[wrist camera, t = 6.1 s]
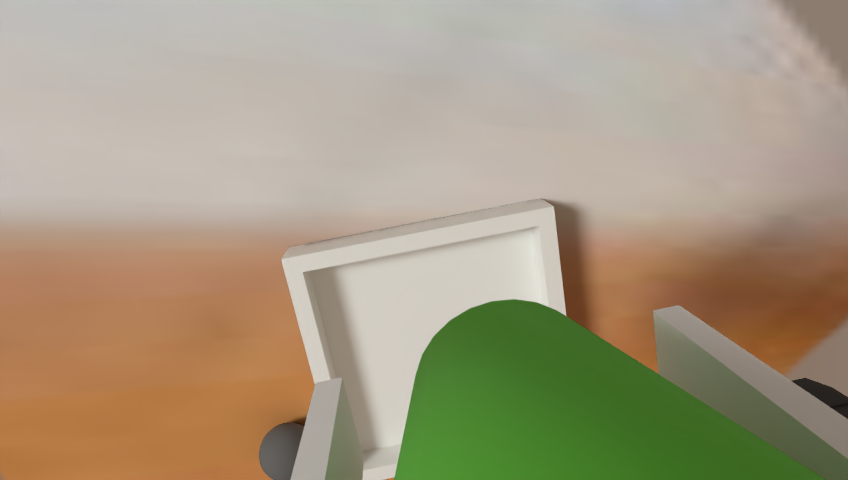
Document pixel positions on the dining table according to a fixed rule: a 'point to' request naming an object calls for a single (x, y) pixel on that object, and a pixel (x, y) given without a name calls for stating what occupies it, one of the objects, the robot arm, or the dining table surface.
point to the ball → (280, 450)
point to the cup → (563, 410)
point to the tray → (411, 303)
